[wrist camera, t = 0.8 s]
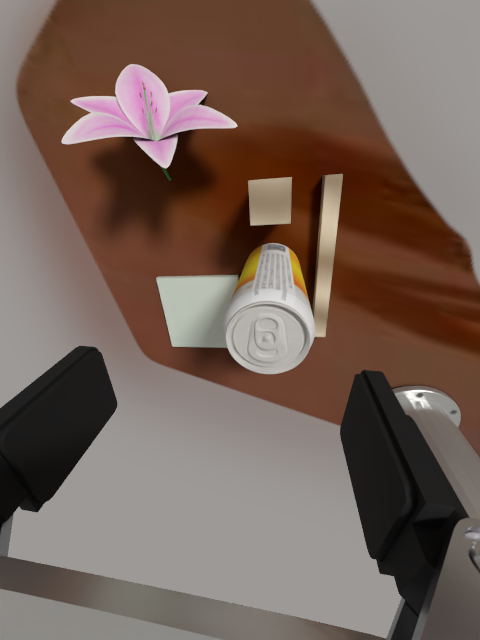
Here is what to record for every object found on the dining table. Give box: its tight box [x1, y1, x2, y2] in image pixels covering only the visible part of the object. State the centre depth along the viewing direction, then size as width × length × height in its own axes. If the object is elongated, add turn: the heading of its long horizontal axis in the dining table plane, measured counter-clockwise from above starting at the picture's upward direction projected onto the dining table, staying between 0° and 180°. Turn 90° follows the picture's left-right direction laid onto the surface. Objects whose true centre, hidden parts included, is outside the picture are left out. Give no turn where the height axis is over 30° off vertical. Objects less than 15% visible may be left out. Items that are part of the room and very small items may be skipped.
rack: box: [248, 174, 343, 337], centre depth 25 cm, size 17×8×8 cm, turn 4°
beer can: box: [223, 243, 315, 374], centre depth 22 cm, size 6×6×15 cm
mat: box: [156, 275, 239, 348], centre depth 32 cm, size 10×10×1 cm
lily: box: [62, 64, 237, 181], centre depth 21 cm, size 12×12×10 cm
